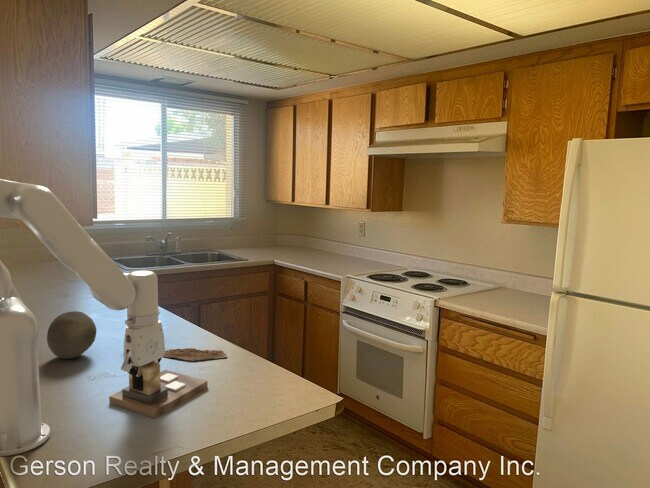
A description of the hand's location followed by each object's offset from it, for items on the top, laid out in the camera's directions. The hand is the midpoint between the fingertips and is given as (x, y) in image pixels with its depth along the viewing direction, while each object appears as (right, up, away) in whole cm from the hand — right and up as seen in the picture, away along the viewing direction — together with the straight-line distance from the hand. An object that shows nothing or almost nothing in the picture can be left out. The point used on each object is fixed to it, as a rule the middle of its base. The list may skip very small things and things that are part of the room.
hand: (145, 385), depth 127 cm
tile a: (+6, -2, +6) cm, 9 cm away
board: (+2, -4, +5) cm, 7 cm away
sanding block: (0, -3, 0) cm, 3 cm away
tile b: (+2, -1, +11) cm, 11 cm away
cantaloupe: (-35, 0, +30) cm, 46 cm away
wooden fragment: (+2, -1, +34) cm, 34 cm away
